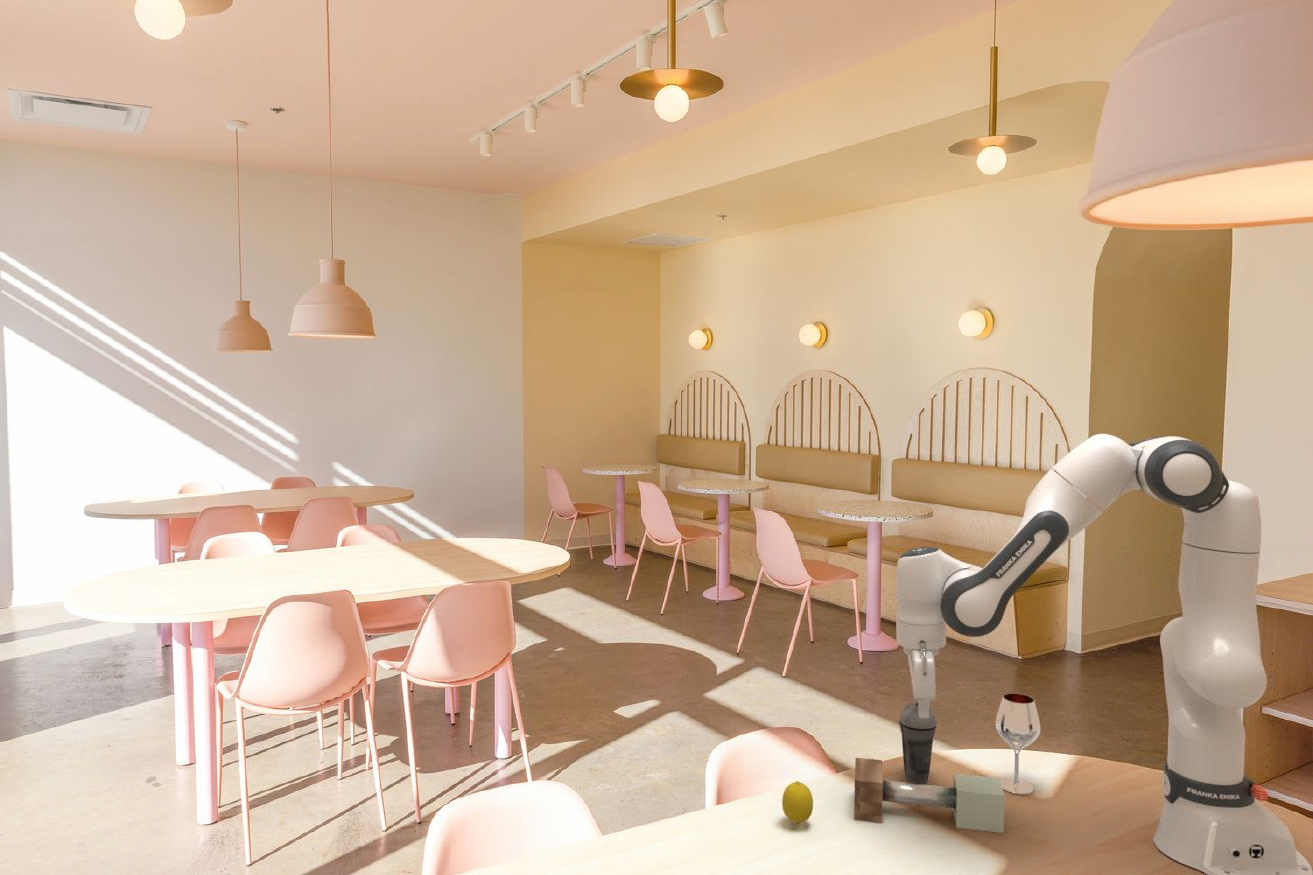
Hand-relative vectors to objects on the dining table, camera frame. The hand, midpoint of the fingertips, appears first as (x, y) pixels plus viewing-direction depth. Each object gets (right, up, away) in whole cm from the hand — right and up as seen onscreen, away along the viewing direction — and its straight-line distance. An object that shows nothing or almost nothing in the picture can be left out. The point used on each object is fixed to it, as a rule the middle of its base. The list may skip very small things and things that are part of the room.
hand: (922, 707), depth 164 cm
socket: (-10, -20, +2) cm, 22 cm away
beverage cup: (+3, -19, +14) cm, 24 cm away
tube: (-2, -18, 0) cm, 18 cm away
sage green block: (+9, -20, -3) cm, 22 cm away
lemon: (-24, -20, -4) cm, 32 cm away
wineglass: (+22, -19, +11) cm, 31 cm away
